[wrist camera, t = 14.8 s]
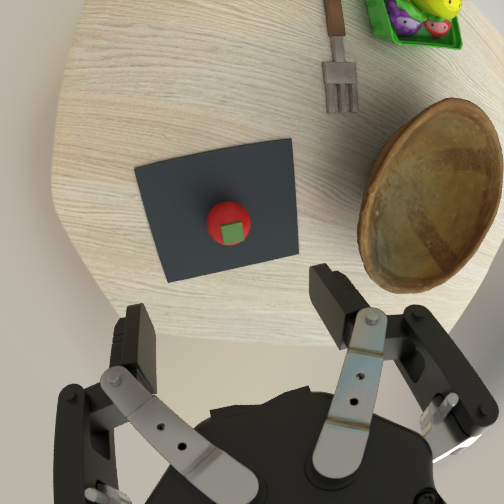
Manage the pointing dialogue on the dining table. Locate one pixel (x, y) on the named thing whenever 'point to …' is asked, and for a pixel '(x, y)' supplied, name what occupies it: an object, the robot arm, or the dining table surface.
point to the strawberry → (228, 223)
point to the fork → (338, 62)
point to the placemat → (212, 193)
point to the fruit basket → (417, 22)
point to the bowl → (430, 197)
